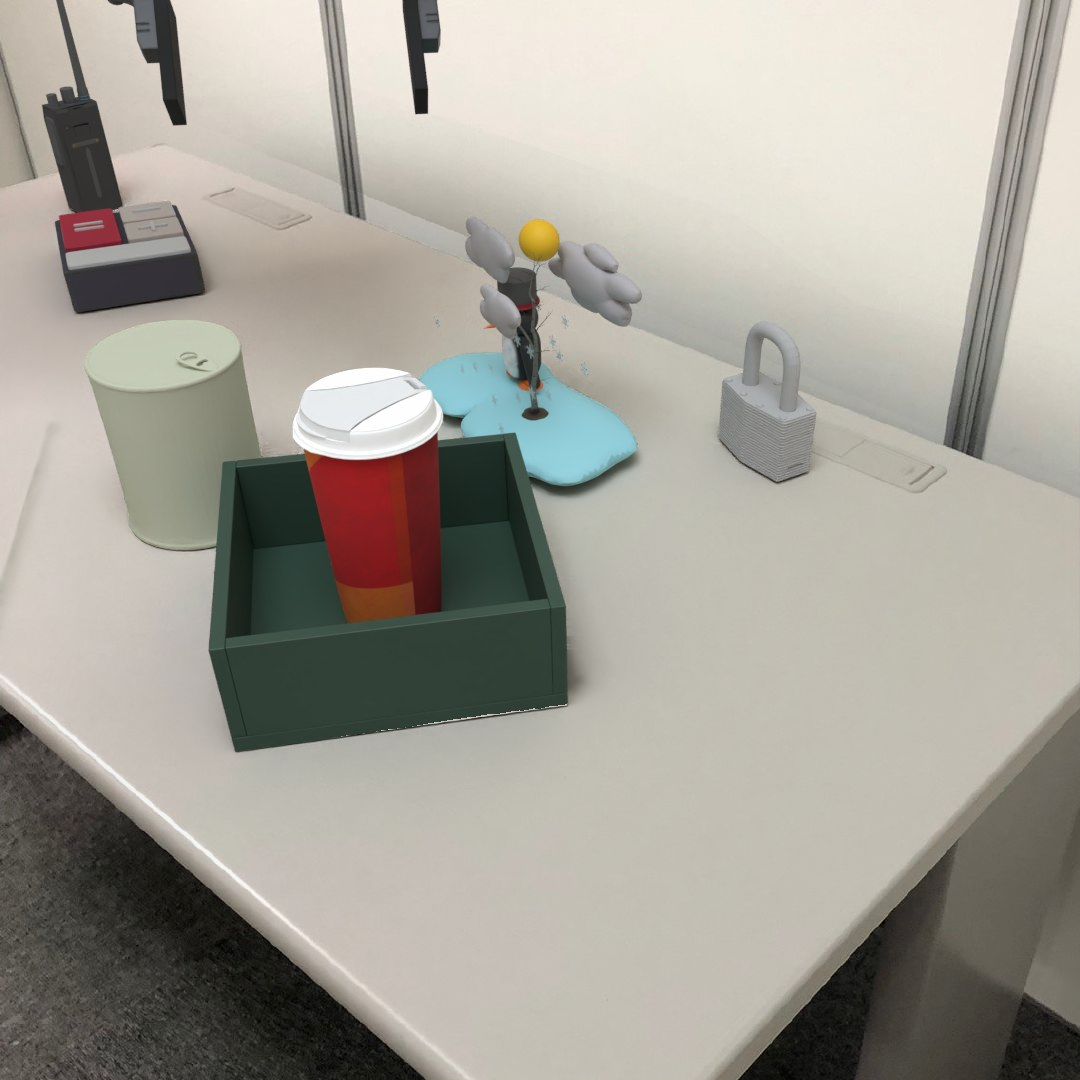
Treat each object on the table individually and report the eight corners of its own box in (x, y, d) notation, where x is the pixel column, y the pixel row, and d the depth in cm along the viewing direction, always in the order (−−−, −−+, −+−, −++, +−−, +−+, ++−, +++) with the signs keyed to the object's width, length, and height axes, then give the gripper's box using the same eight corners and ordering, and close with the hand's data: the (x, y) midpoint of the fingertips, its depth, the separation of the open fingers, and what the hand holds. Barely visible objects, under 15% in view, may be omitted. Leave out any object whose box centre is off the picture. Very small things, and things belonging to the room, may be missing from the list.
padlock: (710, 441, 88) (719, 312, 82) (755, 426, 89) (767, 299, 83) (770, 487, 83) (784, 354, 77) (816, 471, 85) (833, 339, 79)
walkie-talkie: (109, 197, 125) (54, -17, 113) (125, 205, 123) (72, -11, 111) (65, 209, 122) (4, -8, 110) (81, 218, 121) (21, -2, 108)
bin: (234, 752, 63) (207, 650, 59) (243, 556, 76) (222, 461, 72) (568, 706, 66) (566, 605, 62) (520, 525, 79) (515, 432, 75)
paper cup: (419, 557, 75) (396, 349, 66) (484, 621, 70) (469, 406, 61) (302, 602, 71) (261, 389, 62) (362, 673, 66) (327, 453, 58)
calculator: (174, 195, 115) (196, 244, 104) (184, 240, 118) (206, 292, 107) (51, 211, 112) (60, 264, 101) (64, 257, 114) (74, 313, 103)
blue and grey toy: (401, 390, 93) (379, 195, 84) (522, 357, 98) (514, 167, 88) (528, 515, 80) (519, 300, 71) (661, 470, 85) (670, 262, 75)
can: (204, 567, 76) (161, 395, 68) (98, 525, 79) (46, 358, 72) (302, 496, 82) (272, 332, 74) (199, 460, 85) (161, 300, 78)
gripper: (474, -190, 76) (515, 130, 74) (55, -188, 72) (86, 151, 70) (479, -291, 69) (525, 61, 67) (13, -295, 65) (46, 80, 63)
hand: (300, 108), depth 68 cm, fingers open, 13 cm apart
